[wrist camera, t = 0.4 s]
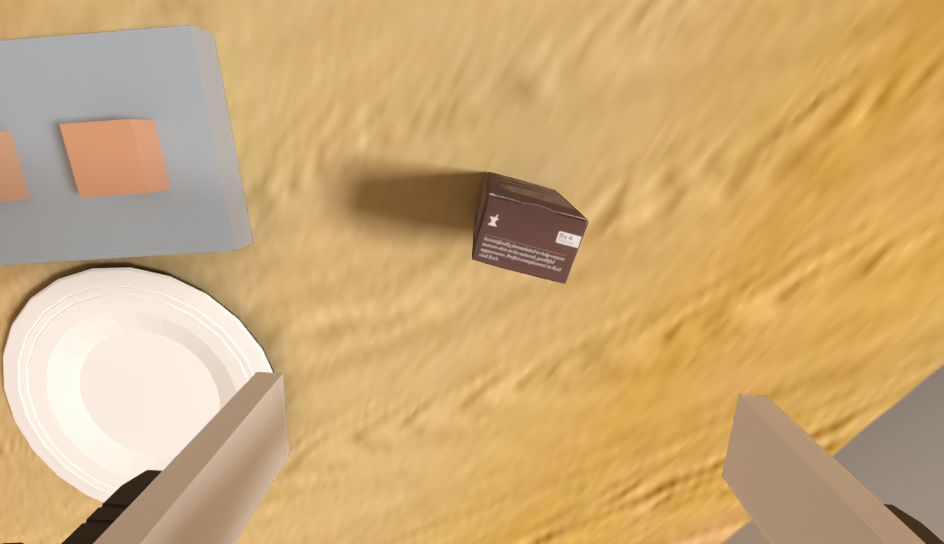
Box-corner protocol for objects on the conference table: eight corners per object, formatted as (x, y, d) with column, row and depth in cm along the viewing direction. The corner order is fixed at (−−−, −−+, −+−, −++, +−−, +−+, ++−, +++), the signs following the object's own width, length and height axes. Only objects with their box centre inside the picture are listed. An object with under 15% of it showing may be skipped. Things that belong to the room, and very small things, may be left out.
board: (-91, 58, 37) (-140, 51, 34) (213, 34, 36) (189, 25, 33) (-21, 259, 42) (-59, 268, 39) (253, 242, 41) (235, 250, 38)
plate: (80, 518, 49) (65, 533, 47) (-27, 285, 42) (-50, 291, 41) (318, 487, 47) (312, 501, 46) (245, 240, 41) (234, 245, 39)
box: (472, 224, 40) (468, 260, 28) (487, 170, 39) (489, 185, 27) (543, 243, 40) (567, 287, 28) (560, 190, 39) (592, 213, 27)
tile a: (88, 125, 35) (59, 124, 33) (154, 120, 35) (130, 118, 33) (106, 193, 37) (80, 197, 34) (170, 189, 36) (148, 193, 34)
